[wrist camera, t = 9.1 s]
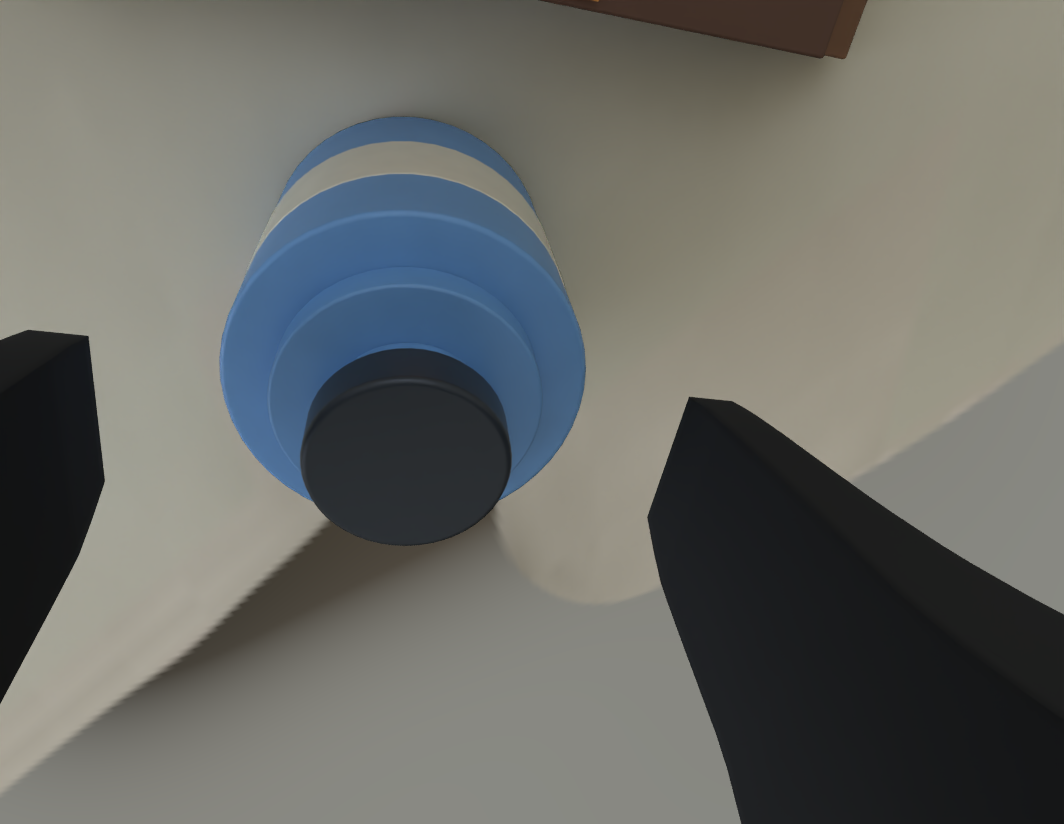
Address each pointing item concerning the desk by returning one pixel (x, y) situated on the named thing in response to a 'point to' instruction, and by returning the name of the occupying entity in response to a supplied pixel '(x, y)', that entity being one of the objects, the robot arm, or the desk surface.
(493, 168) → the bottle
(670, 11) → the snack bar
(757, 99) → the desk surface
